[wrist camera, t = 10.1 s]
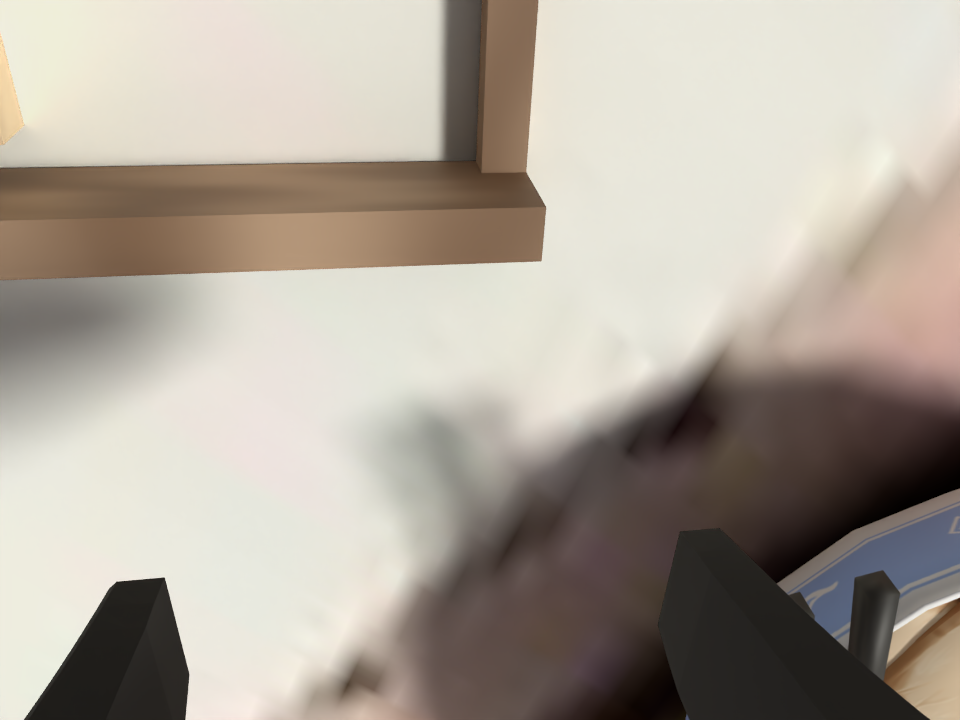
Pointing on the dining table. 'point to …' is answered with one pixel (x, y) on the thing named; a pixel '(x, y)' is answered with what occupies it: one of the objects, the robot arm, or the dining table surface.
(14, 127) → the offcut lower
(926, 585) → the ramen bowl
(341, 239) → the rack
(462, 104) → the dining table surface
